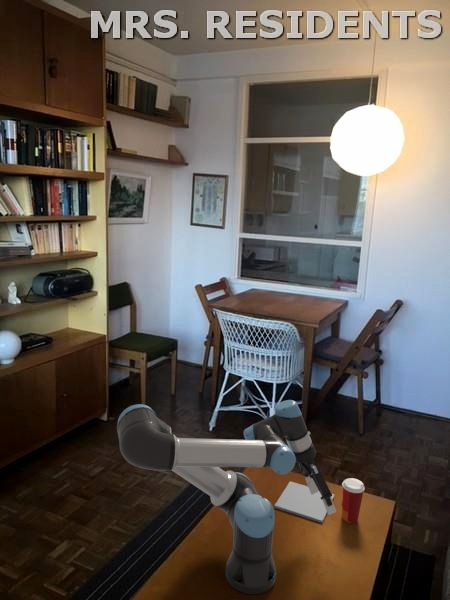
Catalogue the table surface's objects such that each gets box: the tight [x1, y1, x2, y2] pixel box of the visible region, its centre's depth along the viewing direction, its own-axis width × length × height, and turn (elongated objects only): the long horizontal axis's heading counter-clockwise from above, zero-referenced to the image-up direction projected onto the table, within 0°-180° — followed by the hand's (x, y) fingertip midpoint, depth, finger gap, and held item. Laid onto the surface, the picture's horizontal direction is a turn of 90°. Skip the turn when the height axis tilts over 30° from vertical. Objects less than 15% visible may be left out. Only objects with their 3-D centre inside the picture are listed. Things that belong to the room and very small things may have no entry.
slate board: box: [273, 480, 335, 524], centre depth 184 cm, size 18×18×1 cm
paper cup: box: [341, 477, 365, 524], centre depth 175 cm, size 8×8×14 cm
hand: (323, 502), depth 161 cm, fingers open, 13 cm apart
